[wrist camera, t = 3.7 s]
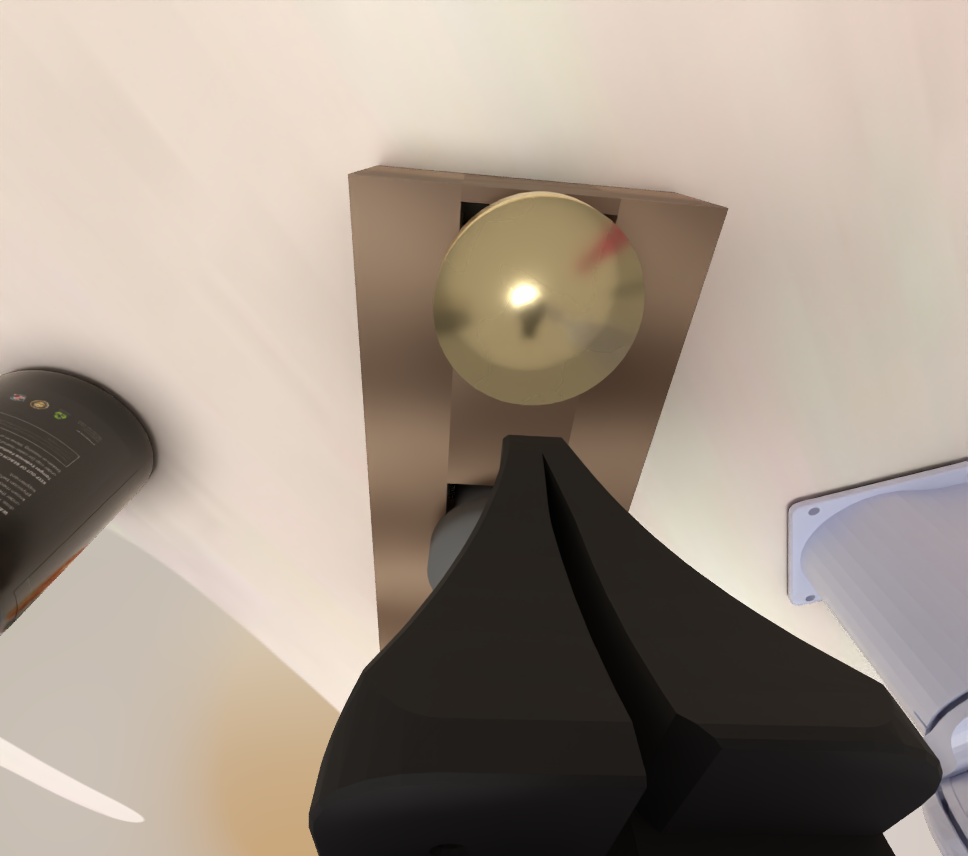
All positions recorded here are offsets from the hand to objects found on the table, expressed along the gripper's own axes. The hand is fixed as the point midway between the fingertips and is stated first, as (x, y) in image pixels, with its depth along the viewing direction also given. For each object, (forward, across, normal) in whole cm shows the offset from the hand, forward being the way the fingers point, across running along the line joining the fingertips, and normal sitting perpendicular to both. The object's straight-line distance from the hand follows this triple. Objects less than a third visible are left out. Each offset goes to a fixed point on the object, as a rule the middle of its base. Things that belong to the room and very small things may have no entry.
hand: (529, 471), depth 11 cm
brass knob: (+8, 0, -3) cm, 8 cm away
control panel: (+9, 0, +7) cm, 11 cm away
